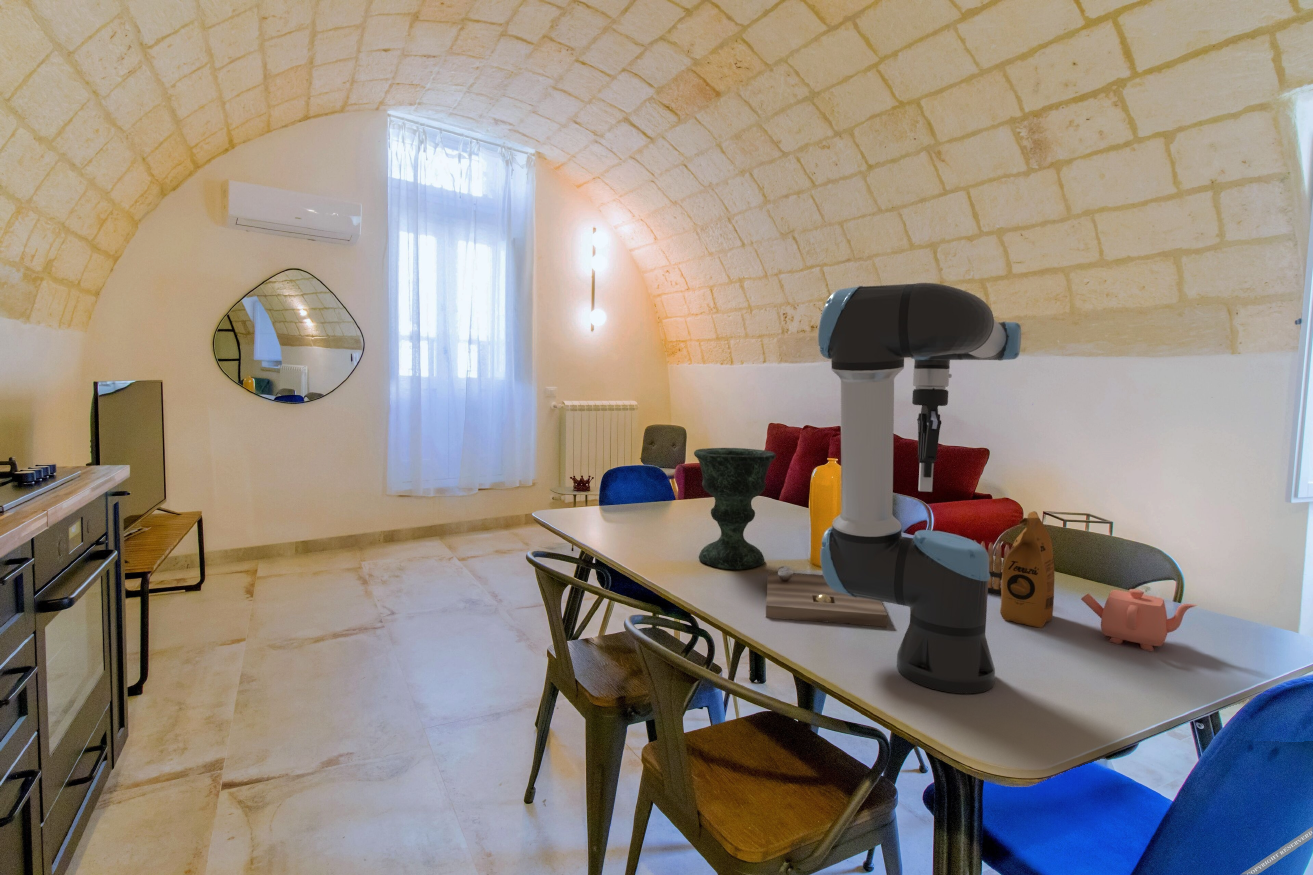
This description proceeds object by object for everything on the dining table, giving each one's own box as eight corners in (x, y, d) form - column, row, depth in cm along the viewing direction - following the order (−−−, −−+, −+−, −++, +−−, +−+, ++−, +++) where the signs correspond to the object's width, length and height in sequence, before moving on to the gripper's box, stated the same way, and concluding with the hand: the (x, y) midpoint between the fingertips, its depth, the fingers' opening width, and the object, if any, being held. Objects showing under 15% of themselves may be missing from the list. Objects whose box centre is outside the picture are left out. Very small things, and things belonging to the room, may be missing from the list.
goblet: (681, 567, 175) (684, 453, 172) (701, 547, 196) (704, 446, 194) (766, 576, 168) (770, 457, 166) (777, 554, 190) (780, 449, 187)
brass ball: (831, 614, 143) (832, 605, 140) (814, 613, 143) (815, 603, 141) (830, 600, 145) (832, 591, 143) (814, 599, 146) (815, 589, 144)
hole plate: (886, 626, 134) (887, 614, 134) (765, 617, 138) (766, 605, 138) (869, 588, 160) (869, 578, 159) (767, 581, 164) (768, 571, 164)
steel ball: (792, 583, 154) (793, 568, 154) (777, 582, 155) (777, 567, 154) (792, 578, 157) (792, 564, 157) (777, 577, 158) (777, 563, 158)
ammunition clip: (1009, 594, 157) (1012, 544, 156) (1007, 596, 156) (1011, 545, 155) (961, 585, 164) (963, 537, 163) (959, 587, 162) (961, 538, 161)
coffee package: (991, 618, 140) (997, 515, 138) (1007, 604, 150) (1013, 507, 148) (1044, 631, 134) (1052, 522, 132) (1058, 615, 143) (1065, 514, 141)
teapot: (1115, 652, 123) (1119, 599, 122) (1076, 629, 135) (1079, 580, 134) (1193, 655, 123) (1198, 601, 122) (1147, 631, 135) (1151, 582, 134)
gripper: (955, 388, 145) (949, 496, 147) (941, 388, 158) (935, 487, 160) (919, 387, 146) (913, 494, 148) (907, 387, 159) (902, 486, 161)
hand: (925, 490), depth 154 cm, fingers closed
